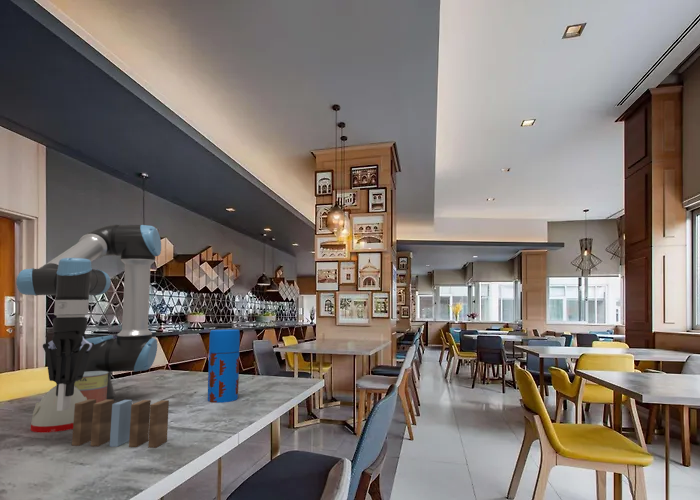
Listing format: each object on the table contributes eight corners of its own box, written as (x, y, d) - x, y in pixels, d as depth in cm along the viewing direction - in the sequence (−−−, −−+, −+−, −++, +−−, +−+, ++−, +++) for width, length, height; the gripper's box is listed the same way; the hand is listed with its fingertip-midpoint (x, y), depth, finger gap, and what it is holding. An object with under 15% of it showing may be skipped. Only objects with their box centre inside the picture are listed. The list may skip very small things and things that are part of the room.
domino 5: (148, 447, 102) (150, 404, 103) (159, 441, 107) (161, 400, 108) (156, 447, 101) (158, 405, 103) (166, 441, 106) (168, 400, 108)
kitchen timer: (86, 416, 131) (89, 367, 133) (90, 426, 120) (94, 373, 122) (30, 424, 123) (35, 372, 125) (30, 436, 112) (35, 378, 114)
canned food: (58, 412, 136) (61, 374, 138) (93, 405, 146) (95, 370, 148) (78, 416, 131) (81, 377, 133) (113, 408, 141) (115, 372, 143)
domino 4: (128, 447, 102) (131, 404, 103) (140, 440, 107) (143, 400, 108) (136, 447, 102) (139, 404, 103) (148, 440, 107) (150, 400, 108)
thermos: (226, 395, 161) (228, 329, 165) (244, 398, 155) (245, 329, 158) (201, 400, 153) (204, 330, 156) (218, 404, 146) (220, 331, 150)
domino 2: (90, 446, 103) (93, 403, 104) (104, 439, 108) (107, 399, 109) (98, 446, 103) (101, 404, 104) (111, 439, 108) (114, 399, 109)
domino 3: (109, 446, 103) (112, 404, 104) (122, 440, 108) (124, 399, 109) (117, 446, 102) (119, 404, 104) (129, 440, 107) (132, 399, 109)
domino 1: (71, 445, 104) (74, 403, 105) (86, 439, 109) (89, 399, 110) (79, 445, 103) (82, 403, 105) (93, 439, 108) (96, 399, 110)
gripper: (36, 316, 108) (27, 412, 105) (83, 316, 106) (76, 413, 103) (59, 316, 115) (52, 405, 112) (103, 315, 114) (97, 406, 111)
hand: (63, 409), depth 108 cm, fingers closed
